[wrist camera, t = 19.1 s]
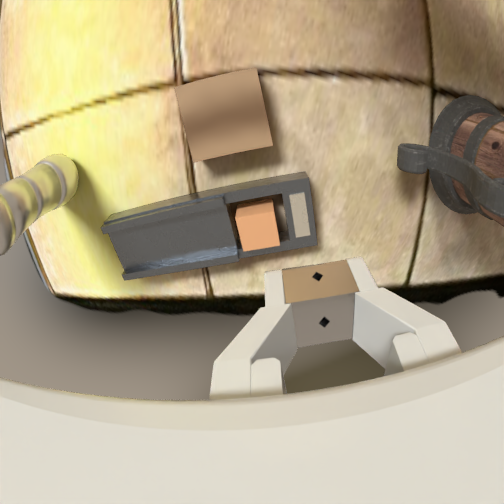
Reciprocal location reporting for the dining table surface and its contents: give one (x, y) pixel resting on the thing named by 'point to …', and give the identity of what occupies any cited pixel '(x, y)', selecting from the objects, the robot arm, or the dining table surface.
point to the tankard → (463, 157)
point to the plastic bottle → (35, 196)
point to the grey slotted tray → (205, 227)
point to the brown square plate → (224, 114)
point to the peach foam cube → (257, 225)
